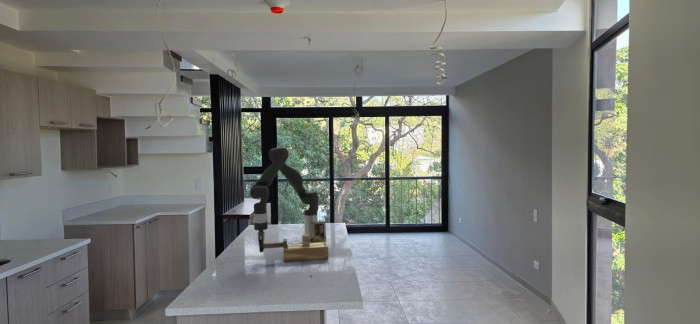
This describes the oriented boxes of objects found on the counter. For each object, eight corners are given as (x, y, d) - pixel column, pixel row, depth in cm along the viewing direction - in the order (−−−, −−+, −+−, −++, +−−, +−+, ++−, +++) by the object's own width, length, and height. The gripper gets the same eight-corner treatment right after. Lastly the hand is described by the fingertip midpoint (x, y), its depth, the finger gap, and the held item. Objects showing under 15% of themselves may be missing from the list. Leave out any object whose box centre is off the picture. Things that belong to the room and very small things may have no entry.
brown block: (259, 248, 222) (259, 242, 222) (284, 246, 224) (284, 241, 224) (259, 249, 219) (259, 244, 219) (284, 248, 221) (284, 242, 221)
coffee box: (326, 246, 248) (326, 221, 247) (325, 249, 242) (324, 223, 241) (312, 246, 249) (312, 221, 248) (310, 249, 243) (310, 223, 242)
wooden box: (283, 256, 229) (283, 237, 228) (325, 253, 233) (325, 235, 233) (283, 262, 217) (283, 243, 217) (328, 258, 221) (327, 239, 221)
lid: (287, 246, 228) (287, 234, 227) (323, 244, 231) (323, 232, 231) (288, 250, 219) (287, 238, 218) (325, 248, 222) (324, 236, 222)
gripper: (254, 219, 226) (255, 248, 227) (252, 224, 212) (254, 255, 213) (267, 218, 227) (268, 247, 228) (266, 223, 213) (268, 254, 214)
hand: (261, 250), depth 221 cm, fingers open, 3 cm apart
